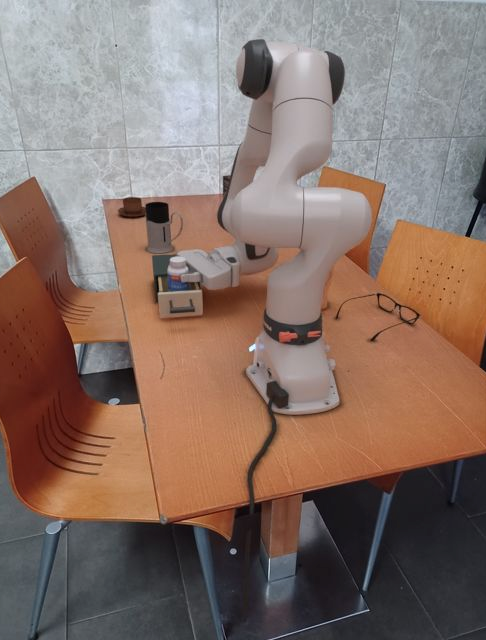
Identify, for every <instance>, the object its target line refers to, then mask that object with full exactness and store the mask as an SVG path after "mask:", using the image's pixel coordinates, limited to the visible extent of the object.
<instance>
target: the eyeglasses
mask: <svg viewBox="0 0 486 640" xmlns="http://www.w3.org/2000/svg"><path fill="white" fill-rule="evenodd" d="M372 296H376V297H377V305H378V307H379V308H380V309H381V310H383V311H385V312H386V313H387V312H388V313H392V312H394V311H395V309H397V307H398V311H397V314H399V317H400V320H402V322H400V323H397V324H395V325H392V326H391V325H390V326H389V327H386V328H384V329H382V330H380V331H378V332H377V333H375V334H374V335H373V336H372V337H371V338H370V340H369V341H375V340H376V339H377V337H379V335H380V334H382V333H383V332H385V331H387V330H389V329H390V328H394V327H395V326H398V325H399V326H400V325H402V324H405V323H406V324H409V325H414V324H415V323H416V322H417V321H418V319H420V318H421V314H420V313H418V312H417V311H416V310H415V309H414V308H411V307H410V306H407V305H402V304H400V303H398V302H396V301H395V300H394V299H393V298H391V297H390V296H388V295H387V294H383V293H381V292H377V293H371V294H368V295H362V296H358V297H357V296H356V297H352V298H349V299H347V300H345V301H344V302H343V303H342V304H341V305H340V306H339V308H338V311H337V312H336V317H335V319H336V320H337V319H339V315H340V312H341V309H342V307H343V305H344V304H345V303H347V302H348V301H351V300H355V299H361V298H367V297H372ZM381 296H382V297H385V298H388V299H389V300H391V302H392V303H393V304H394V307H393V308H392V309H391V310H387V309H385V308H383V307H382V306H381V305H380V297H381ZM401 308H405V309H407V310H410V311H412V312H413V313H415V317H413V318H411V319H409V320H405V319H404V318H403V317H402V314H401V313H402V312H401V311H402V309H401ZM411 321H412V322H411Z"/></svg>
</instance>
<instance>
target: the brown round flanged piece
mask: <svg viewBox="0 0 486 640" xmlns="http://www.w3.org/2000/svg"><path fill="white" fill-rule="evenodd" d="M122 206H123V207H120V208H118V210H117V212H118V214H119V215H121V216H123V217H128V218H133V217H134V218H135V217H137V218H138V217H141V216H144V215H146V207H145V206H143V204H142V198H140V197H136V196H129V197H125V198H123V199H122Z"/></svg>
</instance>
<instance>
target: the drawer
mask: <svg viewBox="0 0 486 640" xmlns="http://www.w3.org/2000/svg"><path fill="white" fill-rule="evenodd" d="M158 285H159V293H158V302H157V303H158V313H159V319H165V318H167V319H169V318H180V317H181V318H182V317H194V316H195V317H197V316H203V314H204V304H203V303H204V301H203V300H204V299H203V290H202V289H200V290H199V286H198V282H189V291H175V292H168V276H158Z"/></svg>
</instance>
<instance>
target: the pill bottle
mask: <svg viewBox="0 0 486 640" xmlns="http://www.w3.org/2000/svg"><path fill="white" fill-rule="evenodd" d="M185 265H186V259H185V258H184V257H172V258H170V266H169V267H168V270H167V273H168V292H175V291H189V282H181V281H180V280H179V275H180V274H183V273H186V274H189V269H188V267H187V266H185Z"/></svg>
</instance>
